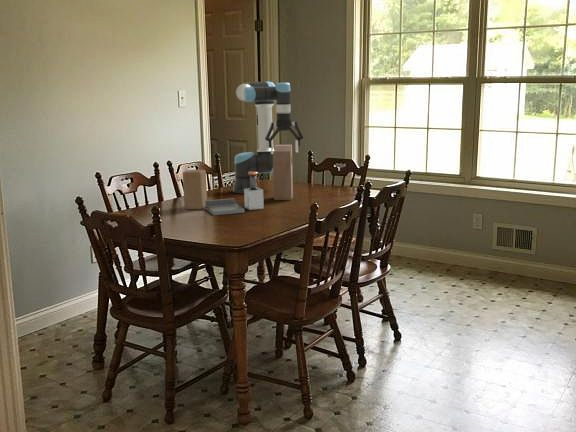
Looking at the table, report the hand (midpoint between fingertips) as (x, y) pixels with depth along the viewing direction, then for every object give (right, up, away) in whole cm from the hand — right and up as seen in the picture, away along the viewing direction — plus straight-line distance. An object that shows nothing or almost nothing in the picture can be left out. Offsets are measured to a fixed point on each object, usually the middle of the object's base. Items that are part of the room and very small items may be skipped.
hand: (284, 153), depth 338 cm
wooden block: (-47, -29, +1) cm, 55 cm away
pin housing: (-16, -29, -2) cm, 33 cm away
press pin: (-16, -21, -4) cm, 27 cm away
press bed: (-31, -31, -8) cm, 44 cm away
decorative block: (-1, -24, +22) cm, 32 cm away
